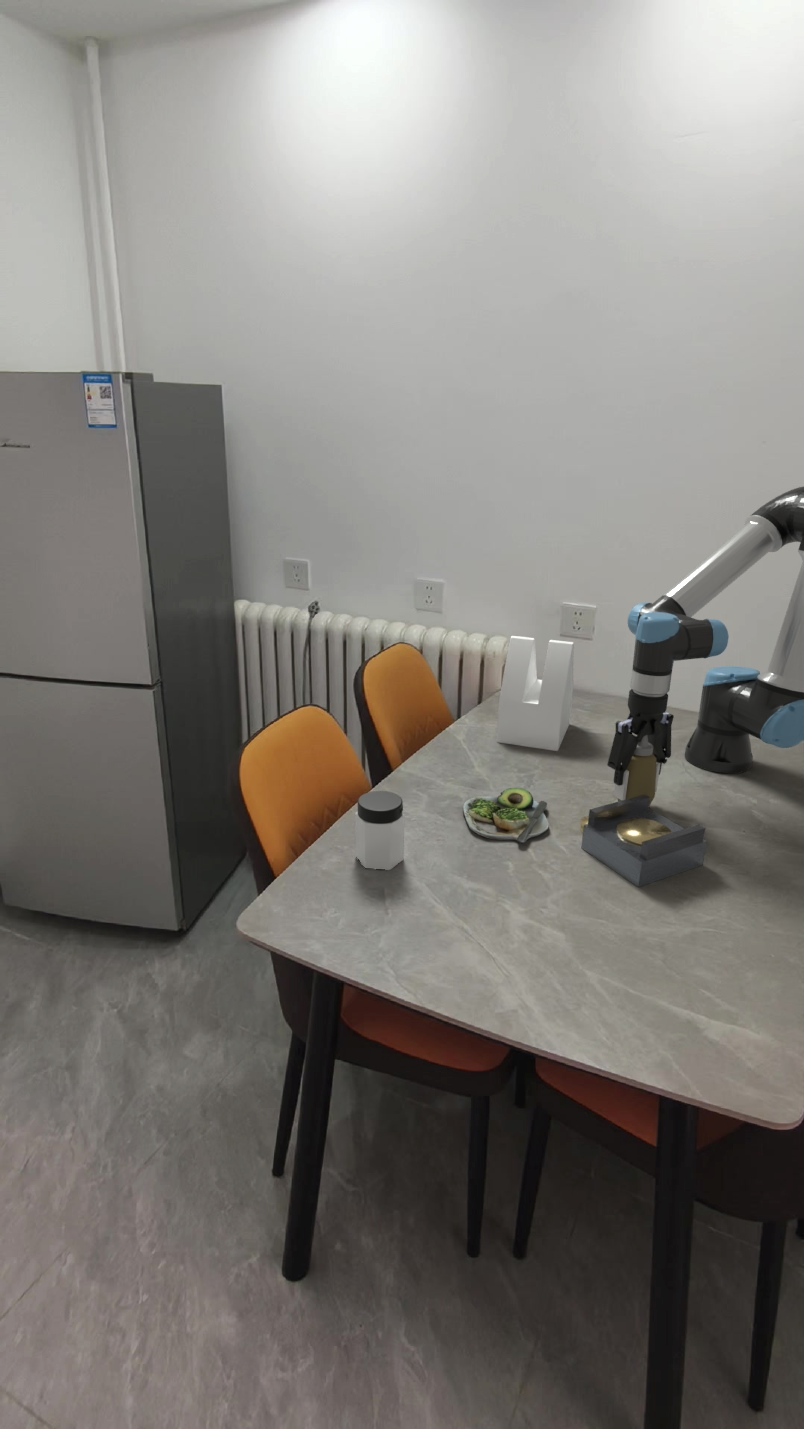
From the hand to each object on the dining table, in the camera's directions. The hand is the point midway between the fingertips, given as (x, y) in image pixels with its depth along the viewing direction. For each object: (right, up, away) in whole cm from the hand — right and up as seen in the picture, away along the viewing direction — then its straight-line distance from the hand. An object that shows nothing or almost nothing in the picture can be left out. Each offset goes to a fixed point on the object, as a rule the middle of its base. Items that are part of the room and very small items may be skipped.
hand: (635, 793), depth 166 cm
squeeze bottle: (0, -3, +1) cm, 3 cm away
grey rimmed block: (-4, -10, -17) cm, 20 cm away
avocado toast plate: (-28, -5, -4) cm, 28 cm away
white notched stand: (-15, +12, +40) cm, 44 cm away
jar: (-53, -10, -20) cm, 57 cm away
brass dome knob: (-10, -7, -8) cm, 15 cm away
